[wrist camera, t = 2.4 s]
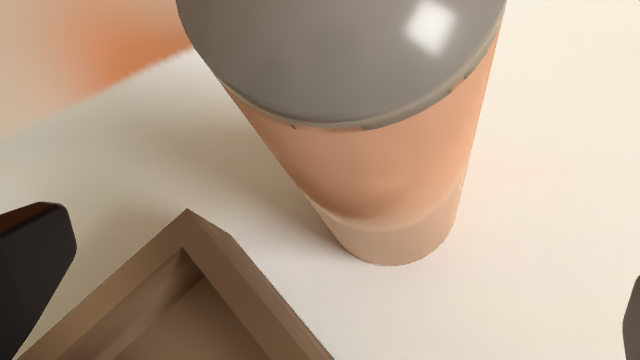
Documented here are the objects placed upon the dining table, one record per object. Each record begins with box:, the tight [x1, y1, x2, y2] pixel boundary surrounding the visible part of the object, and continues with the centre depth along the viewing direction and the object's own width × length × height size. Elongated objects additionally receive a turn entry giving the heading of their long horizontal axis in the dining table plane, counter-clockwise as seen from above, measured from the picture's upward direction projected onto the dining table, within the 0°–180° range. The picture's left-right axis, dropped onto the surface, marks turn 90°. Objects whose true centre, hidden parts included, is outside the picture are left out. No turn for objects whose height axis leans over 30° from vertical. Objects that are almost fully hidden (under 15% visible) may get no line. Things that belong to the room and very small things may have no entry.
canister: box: [176, 0, 507, 266], centre depth 14 cm, size 5×5×13 cm
